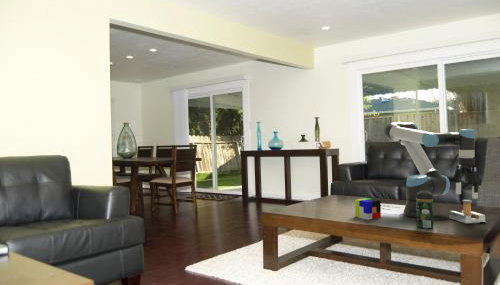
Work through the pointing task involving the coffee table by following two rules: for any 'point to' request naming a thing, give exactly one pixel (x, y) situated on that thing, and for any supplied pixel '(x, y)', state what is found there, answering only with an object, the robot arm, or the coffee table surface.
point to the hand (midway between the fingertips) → (466, 196)
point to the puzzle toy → (368, 208)
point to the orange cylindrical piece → (467, 207)
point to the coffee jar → (424, 209)
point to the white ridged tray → (467, 217)
